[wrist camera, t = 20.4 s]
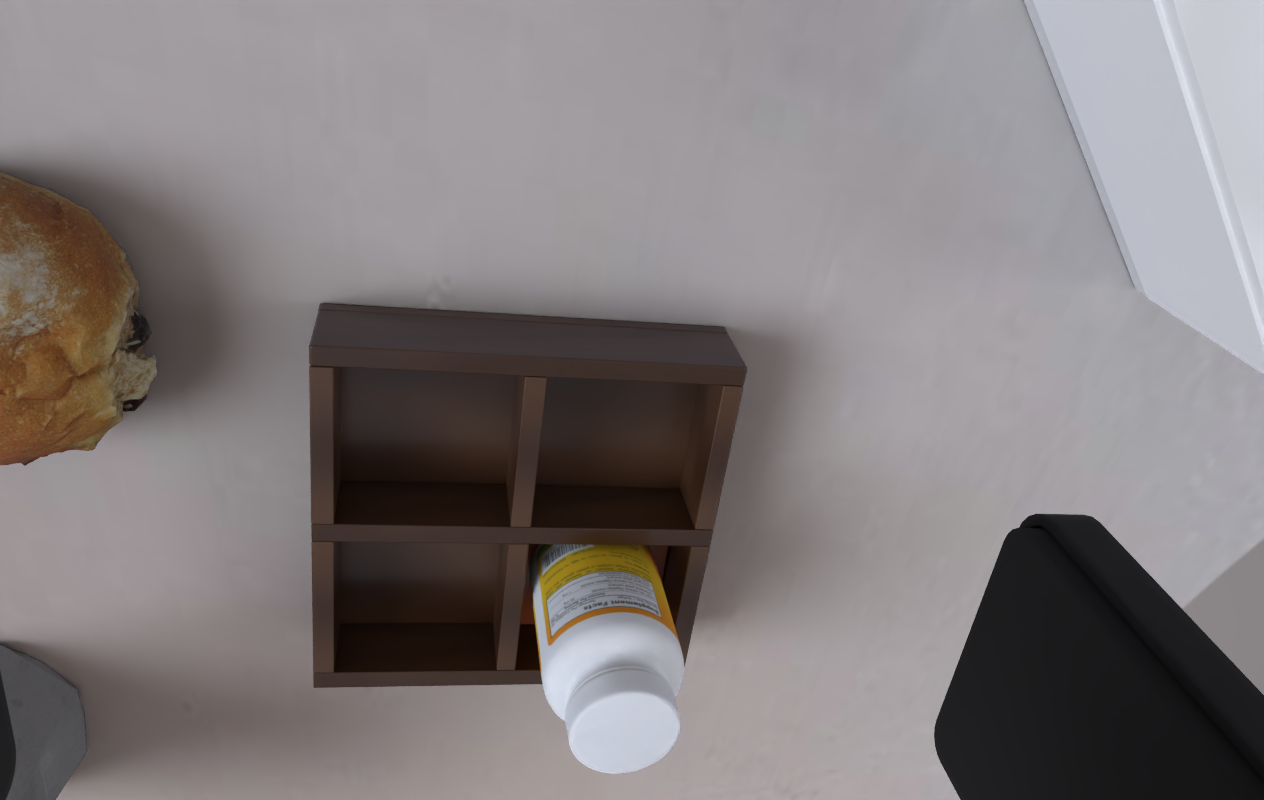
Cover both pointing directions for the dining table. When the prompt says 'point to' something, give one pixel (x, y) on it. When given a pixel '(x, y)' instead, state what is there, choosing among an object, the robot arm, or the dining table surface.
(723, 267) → the dining table surface
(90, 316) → the bread roll
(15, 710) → the coffeepot
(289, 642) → the dining table surface
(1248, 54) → the butter dish
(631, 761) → the supplement bottle
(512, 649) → the wooden compartment tray
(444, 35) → the dining table surface
